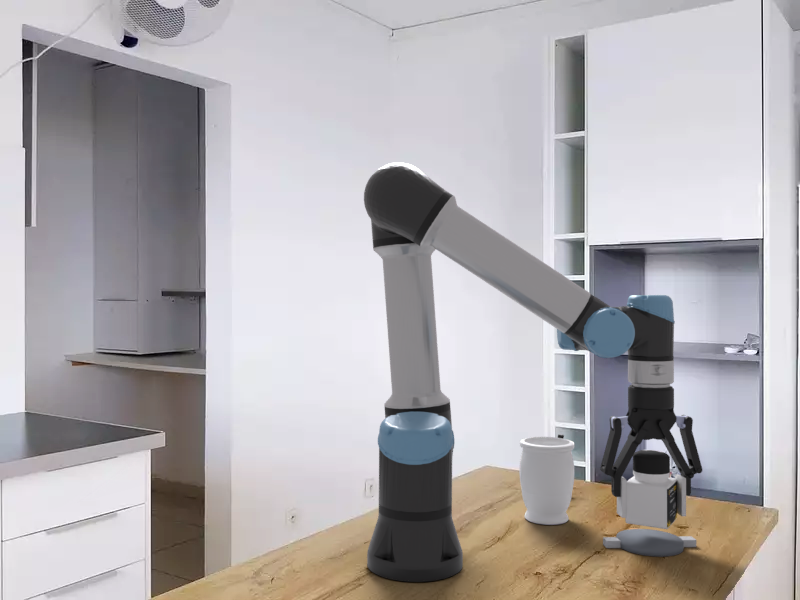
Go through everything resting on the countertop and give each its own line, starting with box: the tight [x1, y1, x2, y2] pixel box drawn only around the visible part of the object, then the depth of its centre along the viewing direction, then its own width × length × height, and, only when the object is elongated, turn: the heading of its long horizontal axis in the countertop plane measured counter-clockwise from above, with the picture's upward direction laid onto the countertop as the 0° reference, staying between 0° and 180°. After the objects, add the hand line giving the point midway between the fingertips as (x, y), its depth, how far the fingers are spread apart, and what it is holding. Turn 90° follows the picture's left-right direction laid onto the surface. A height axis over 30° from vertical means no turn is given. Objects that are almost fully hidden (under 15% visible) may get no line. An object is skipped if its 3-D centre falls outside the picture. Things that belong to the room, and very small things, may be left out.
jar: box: [518, 436, 575, 526], centre depth 148 cm, size 11×10×15 cm
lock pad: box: [602, 527, 697, 557], centre depth 134 cm, size 16×13×1 cm
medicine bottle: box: [624, 449, 678, 530], centre depth 132 cm, size 7×7×12 cm
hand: (651, 514), depth 132 cm, fingers closed on medicine bottle, 10 cm apart
